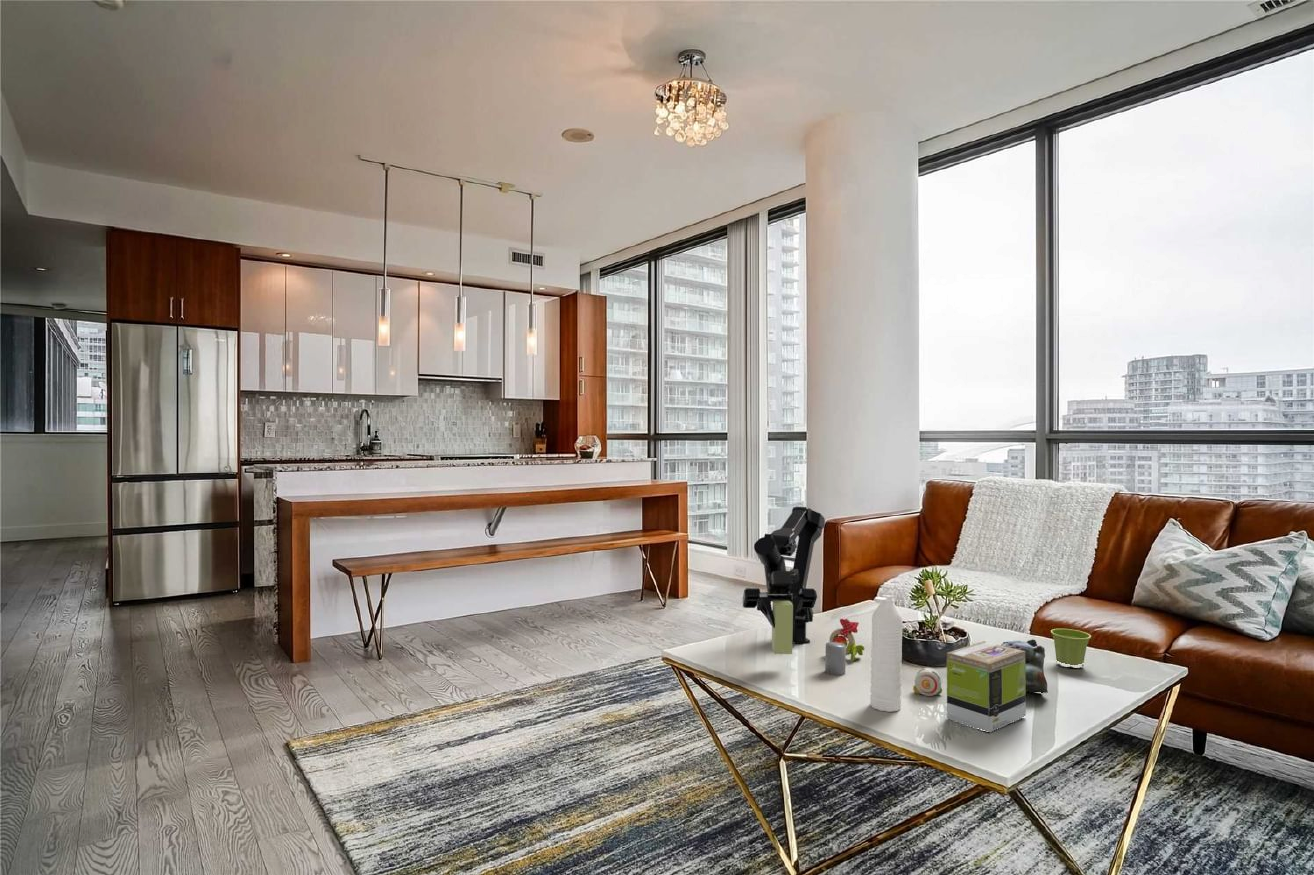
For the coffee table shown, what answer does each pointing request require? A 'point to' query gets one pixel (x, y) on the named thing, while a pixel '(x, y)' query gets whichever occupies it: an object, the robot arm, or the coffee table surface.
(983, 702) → the tea box
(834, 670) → the grey cylinder
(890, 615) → the water bottle
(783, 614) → the olive brick
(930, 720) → the coffee table surface
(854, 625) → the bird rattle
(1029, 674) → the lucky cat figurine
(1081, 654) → the plant pot
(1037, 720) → the coffee table surface
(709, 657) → the coffee table surface
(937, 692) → the roller toy
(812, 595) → the robot arm
